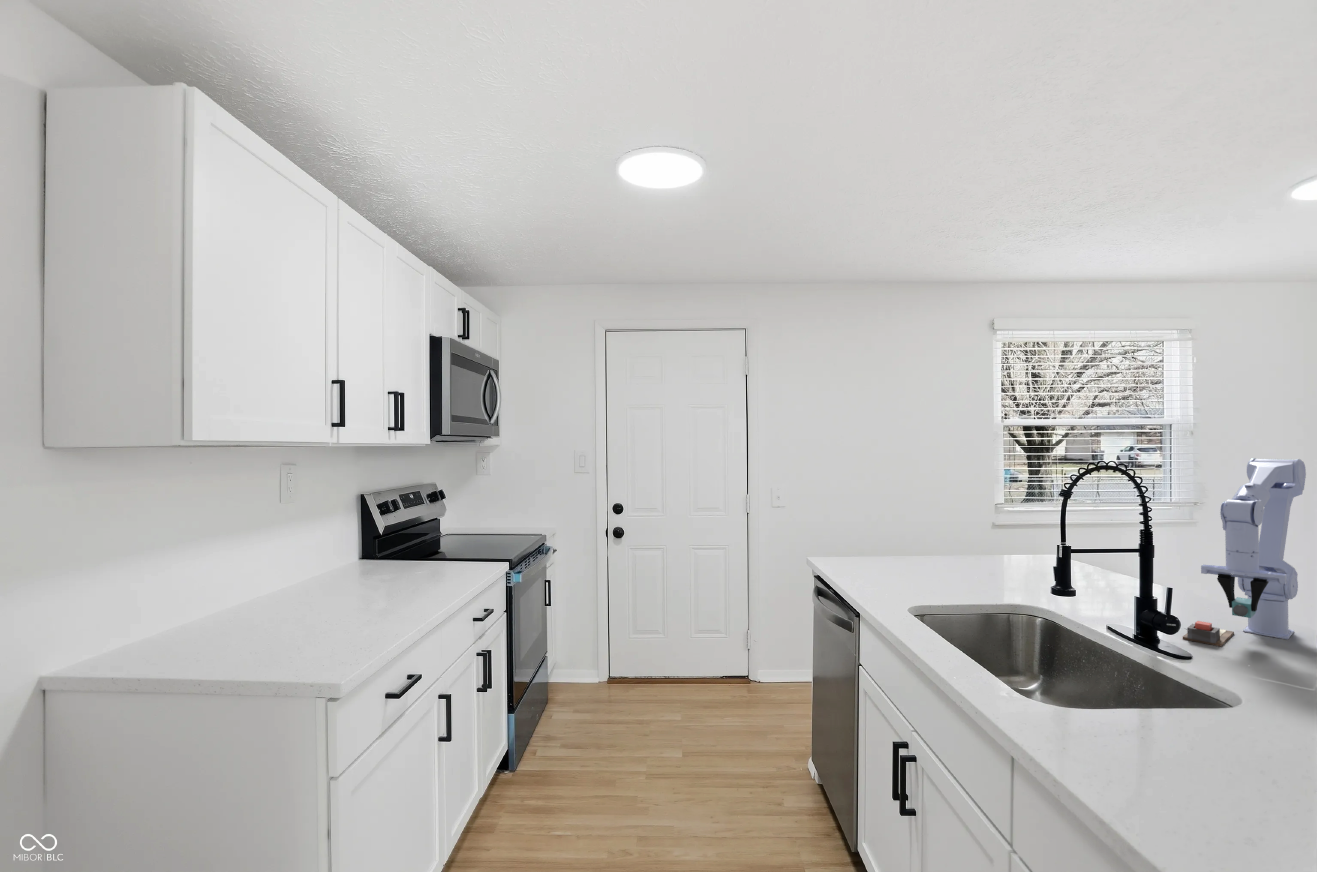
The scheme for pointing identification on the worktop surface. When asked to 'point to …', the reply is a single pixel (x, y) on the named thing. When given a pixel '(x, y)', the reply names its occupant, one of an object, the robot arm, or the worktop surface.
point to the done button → (1203, 625)
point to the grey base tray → (1208, 635)
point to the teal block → (1242, 607)
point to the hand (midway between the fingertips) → (1242, 608)
